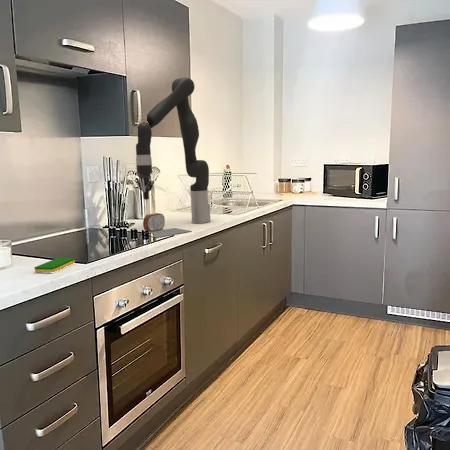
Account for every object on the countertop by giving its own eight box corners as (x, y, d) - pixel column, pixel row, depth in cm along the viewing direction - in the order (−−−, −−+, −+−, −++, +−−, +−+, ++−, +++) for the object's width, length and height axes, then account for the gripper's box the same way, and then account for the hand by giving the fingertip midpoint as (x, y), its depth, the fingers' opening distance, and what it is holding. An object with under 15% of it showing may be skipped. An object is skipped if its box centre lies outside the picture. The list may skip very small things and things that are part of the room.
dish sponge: (34, 274, 158) (33, 267, 157) (58, 264, 171) (57, 257, 171) (53, 274, 156) (52, 267, 156) (75, 264, 169) (74, 257, 169)
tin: (161, 228, 238) (159, 212, 237) (166, 228, 236) (165, 211, 235) (143, 233, 225) (141, 215, 224) (148, 232, 223) (146, 215, 222)
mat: (174, 228, 235) (174, 227, 235) (191, 231, 225) (191, 230, 225) (140, 234, 222) (140, 233, 222) (156, 238, 212) (156, 237, 212)
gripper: (158, 163, 228) (160, 199, 230) (143, 163, 237) (145, 198, 240) (144, 164, 223) (147, 200, 225) (130, 164, 233) (132, 199, 235)
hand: (146, 199), depth 233 cm, fingers closed
